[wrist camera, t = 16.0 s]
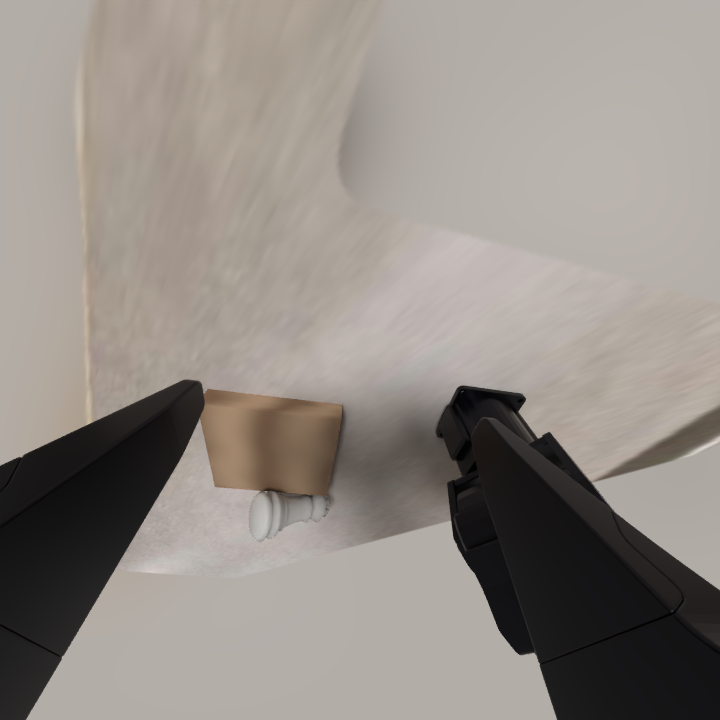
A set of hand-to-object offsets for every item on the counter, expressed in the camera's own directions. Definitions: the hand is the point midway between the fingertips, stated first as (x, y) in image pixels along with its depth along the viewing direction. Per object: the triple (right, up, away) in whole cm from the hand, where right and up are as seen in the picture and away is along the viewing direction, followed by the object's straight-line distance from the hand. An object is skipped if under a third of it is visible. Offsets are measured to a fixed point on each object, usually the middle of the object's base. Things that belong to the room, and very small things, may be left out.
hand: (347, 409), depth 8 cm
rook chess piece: (-10, -14, +18) cm, 25 cm away
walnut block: (-8, -6, +19) cm, 22 cm away
